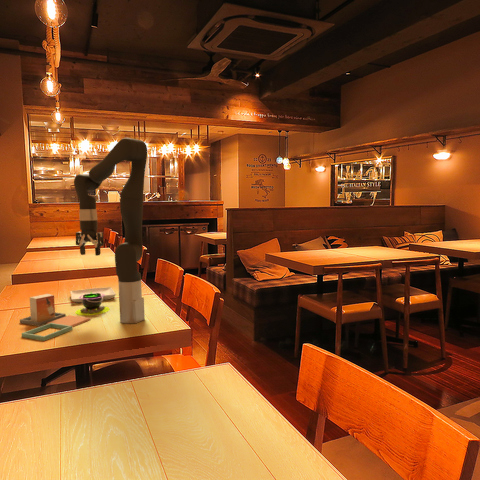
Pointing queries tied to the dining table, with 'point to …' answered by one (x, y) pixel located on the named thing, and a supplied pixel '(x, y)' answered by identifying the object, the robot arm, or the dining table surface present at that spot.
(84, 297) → the toy cauldron
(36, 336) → the green rectangular frame
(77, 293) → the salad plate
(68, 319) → the terracotta tile
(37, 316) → the small box
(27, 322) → the grey rectangular frame
